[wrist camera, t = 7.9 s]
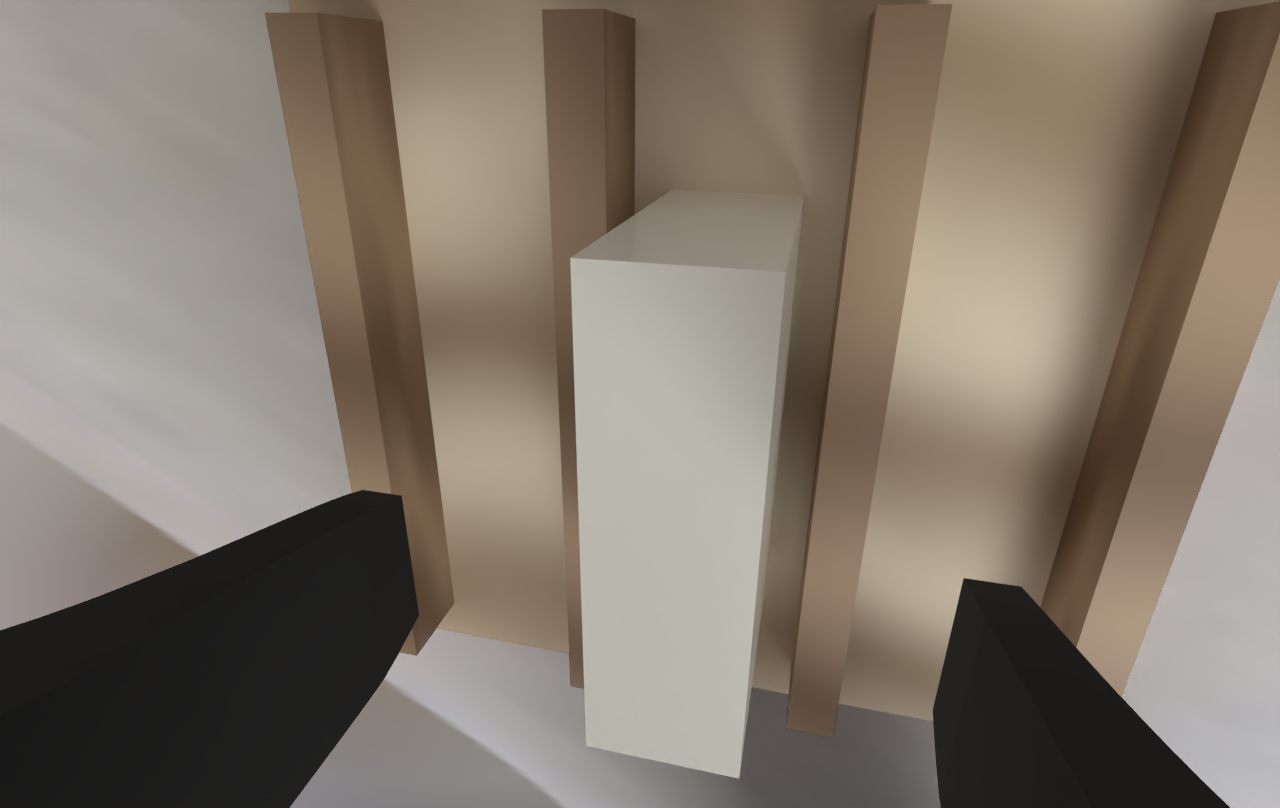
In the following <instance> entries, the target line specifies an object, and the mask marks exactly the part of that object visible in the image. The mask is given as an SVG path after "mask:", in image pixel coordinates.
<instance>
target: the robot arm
mask: <svg viewBox="0 0 1280 808" xmlns="http://www.w3.org/2000/svg"><path fill="white" fill-rule="evenodd" d="M418 616H419V610H418V603H417V597H416V590H415V583H414V576H413V569H412V563H411V556H410V549H409V542H408V535H407V528H406V522H405V515H404V508H403V501H402V496H401V495H395V494H388V493H381V492H374V491H367V490H360V491H357V492H354V493H351V494H348V495H345V496H342V497H339V498H337V499H334V500H331V501H329V502H326V503H324V504H321V505H319V506H316V507H314V508H311V509H309V510H306V511H304V512H302V513H299V514H297V515H295V516H292V517H290V518H287V519H285V520H283V521H280V522H278V523H276V524H273V525H271V526H269V527H266V528H264V529H262V530H259V531H257V532H255V533H252V534H250V535H248V536H245V537H243V538H241V539H238V540H236V541H234V542H231V543H229V544H227V545H224V546H222V547H220V548H217V549H215V550H213V551H210V552H208V553H206V554H203V555H201V556H199V557H196V558H194V559H192V560H189V561H187V562H184V563H182V564H179V565H177V566H174V567H172V568H169V569H167V570H164V571H161V572H159V573H156V574H154V575H152V576H149V577H147V578H144V579H141V580H139V581H137V582H134V583H132V584H129V585H126V586H124V587H121V588H119V589H116V590H114V591H111V592H109V593H106V594H104V595H101V596H99V597H96V598H93V599H90V600H88V601H85V602H82V603H80V604H77V605H74V606H71V607H68V608H66V609H63V610H60V611H57V612H54V613H51V614H49V615H46V616H43V617H40V618H37V619H34V620H31V621H28V622H25V623H22V624H19V625H16V626H13V627H10V628H7V629H4V630H1V631H0V808H290V806H291V805H292V803H293V802H294V801H295V799H296V798H297V797H298V795H299V794H300V793H301V791H302V790H303V789H304V787H305V786H306V785H307V783H308V782H309V781H310V779H311V778H312V776H313V775H314V774H315V773H316V771H317V770H318V768H319V767H320V766H321V764H322V763H323V762H324V761H325V759H326V758H327V756H328V755H329V754H330V752H331V751H332V750H333V748H334V747H335V746H336V744H337V743H338V742H339V740H340V739H341V738H342V736H343V735H344V734H345V732H346V731H347V730H348V728H349V727H350V725H351V724H352V723H353V721H354V720H355V719H356V717H357V716H358V715H359V713H360V712H361V710H362V709H363V708H364V706H365V705H366V704H367V702H368V701H369V699H370V698H371V697H372V695H373V694H374V692H375V691H376V690H377V688H378V687H379V685H380V684H381V683H382V681H383V680H384V678H385V676H386V674H387V673H388V671H389V669H390V668H391V666H392V664H393V662H394V661H395V659H396V657H397V655H398V654H399V652H400V650H401V648H402V646H403V645H404V643H405V641H406V639H407V637H408V635H409V633H410V631H411V629H412V628H413V626H414V624H415V622H416V620H417V618H418ZM933 723H934V738H935V752H936V765H937V777H938V788H939V798H940V803H941V808H1230V807H1229V806H1228V805H1227V804H1226V803H1225V802H1224V801H1223V800H1222V799H1220V798H1219V797H1218V796H1217V795H1216V794H1215V793H1214V792H1213V791H1212V790H1211V789H1210V788H1209V787H1208V786H1207V785H1206V784H1205V783H1204V782H1203V781H1202V780H1201V779H1200V778H1199V777H1198V776H1197V775H1196V774H1195V773H1194V772H1193V771H1192V770H1191V769H1190V768H1189V767H1188V766H1187V765H1186V764H1185V763H1184V762H1183V761H1182V760H1181V759H1180V758H1179V757H1178V756H1177V755H1176V754H1175V753H1174V752H1173V751H1172V750H1171V749H1170V748H1169V747H1168V746H1167V745H1166V744H1165V743H1164V742H1163V741H1162V740H1161V739H1160V737H1159V736H1158V735H1157V734H1156V733H1155V732H1154V731H1153V730H1152V729H1151V728H1150V727H1149V726H1148V725H1147V724H1146V723H1145V722H1144V721H1143V720H1142V719H1141V718H1140V717H1139V715H1138V714H1137V713H1136V712H1135V711H1134V710H1133V709H1132V708H1131V707H1130V706H1129V705H1128V704H1127V703H1126V702H1125V701H1124V700H1123V698H1122V697H1121V696H1120V695H1119V694H1118V693H1117V692H1116V691H1115V690H1114V689H1113V688H1112V686H1111V685H1110V684H1109V683H1108V682H1107V681H1106V680H1105V679H1104V678H1103V677H1102V676H1101V675H1100V673H1099V672H1098V671H1097V670H1096V669H1095V668H1094V667H1093V666H1092V665H1091V663H1090V662H1089V661H1088V660H1087V659H1086V658H1085V657H1084V656H1083V655H1082V653H1081V652H1080V651H1079V650H1078V649H1077V648H1076V647H1075V646H1074V645H1073V643H1072V642H1071V641H1070V640H1069V639H1068V638H1067V637H1066V636H1065V634H1064V633H1063V632H1062V631H1061V630H1060V629H1059V628H1058V627H1057V625H1056V624H1055V623H1054V622H1053V621H1052V620H1051V619H1050V618H1049V616H1048V615H1047V614H1046V613H1045V612H1044V611H1043V610H1042V609H1041V607H1040V606H1039V605H1038V604H1037V603H1036V602H1035V601H1034V600H1033V599H1032V598H1031V596H1030V595H1029V594H1028V593H1027V592H1026V591H1025V590H1024V589H1023V588H1022V587H1021V586H1014V585H1007V584H1001V583H994V582H987V581H980V580H973V579H967V578H964V579H963V583H962V587H961V591H960V596H959V600H958V604H957V608H956V613H955V617H954V621H953V625H952V630H951V634H950V638H949V642H948V647H947V651H946V655H945V660H944V664H943V668H942V672H941V677H940V681H939V685H938V689H937V694H936V698H935V702H934V706H933Z"/></svg>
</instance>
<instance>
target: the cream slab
mask: <svg viewBox="0 0 1280 808" xmlns="http://www.w3.org/2000/svg"><path fill="white" fill-rule="evenodd" d="M804 200H805V195H784V194H759V193H735V192H711V191H687V190H671V191H669V192H668V193H666V194H665V195H663V196H662V197H660V198H659V199H657V200H656V201H654V202H653V203H651V204H650V205H648V206H647V207H645V208H644V209H642V210H641V211H639V212H638V213H636V214H635V215H634V216H632V217H631V218H629V219H628V220H626V221H625V222H623V223H622V224H620V225H619V226H617V227H616V228H614V229H613V230H611V231H610V232H608V233H607V234H605V235H604V236H602V237H601V238H599V239H598V240H596V241H595V242H593V243H592V244H590V245H589V246H587V247H586V248H584V249H583V250H581V251H580V252H578V253H577V254H575V255H574V256H572V257H571V258H570V266H571V297H572V328H573V359H574V390H575V421H576V451H577V482H578V513H579V544H580V575H581V606H582V637H583V668H584V699H585V730H586V746H590V747H594V748H599V749H603V750H608V751H613V752H617V753H622V754H627V755H631V756H636V757H641V758H645V759H650V760H655V761H659V762H664V763H668V764H673V765H678V766H682V767H687V768H692V769H696V770H701V771H706V772H710V773H715V774H720V775H724V776H729V777H733V778H738V779H739V777H740V770H741V762H742V755H743V748H744V740H745V733H746V725H747V718H748V711H749V703H750V696H751V688H752V681H753V673H754V666H755V659H756V651H757V644H758V636H759V629H760V622H761V614H762V607H763V599H764V592H765V584H766V577H767V570H768V562H769V555H770V545H771V535H772V524H773V514H774V504H775V494H776V484H777V474H778V464H779V453H780V443H781V433H782V423H783V413H784V403H785V392H786V382H787V372H788V362H789V352H790V342H791V332H792V321H793V311H794V301H795V291H796V281H797V271H798V260H799V250H800V240H801V230H802V220H803V210H804Z"/></svg>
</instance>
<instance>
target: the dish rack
mask: <svg viewBox="0 0 1280 808" xmlns="http://www.w3.org/2000/svg"><path fill="white" fill-rule="evenodd" d="M289 6H290V11H291V13H265V15H266V21H267V26H268V32H269V37H270V43H271V48H272V54H273V59H274V65H275V70H276V76H277V81H278V87H279V92H280V98H281V103H282V109H283V114H284V120H285V125H286V131H287V136H288V142H289V147H290V153H291V158H292V164H293V169H294V175H295V180H296V186H297V191H298V197H299V203H300V208H301V214H302V219H303V225H304V230H305V236H306V241H307V247H308V252H309V258H310V263H311V269H312V274H313V280H314V285H315V291H316V296H317V302H318V307H319V313H320V318H321V324H322V329H323V335H324V340H325V346H326V351H327V357H328V362H329V368H330V373H331V379H332V384H333V390H334V395H335V401H336V406H337V412H338V417H339V423H340V428H341V434H342V439H343V445H344V450H345V456H346V461H347V467H348V472H349V478H350V483H351V489H352V493H354V492H357V491H360V490H367V491H374V492H381V493H388V494H395V495H401V496H402V501H403V508H404V515H405V522H406V528H407V535H408V542H409V549H410V556H411V563H412V569H413V576H414V583H415V590H416V597H417V603H418V610H419V616H418V618H417V620H416V622H415V624H414V626H413V628H412V629H411V631H410V633H409V635H408V637H407V639H406V641H405V643H404V645H403V646H402V648H401V650H400V652H401V653H406V654H411V655H416V656H417V654H418V653H419V652H420V650H421V649H422V648H423V646H424V645H425V643H426V642H427V641H428V639H429V638H430V637H431V635H432V634H433V632H434V631H435V630H436V628H437V629H443V630H448V631H453V632H459V633H464V634H469V635H475V636H480V637H485V638H491V639H496V640H501V641H507V642H512V643H517V644H523V645H528V646H533V647H539V648H544V649H549V650H555V651H560V652H565V653H569V660H570V684H571V686H573V687H578V688H583V689H584V668H583V637H582V606H581V575H580V544H579V513H578V482H577V451H576V421H575V390H574V359H573V328H572V297H571V266H570V258H571V257H572V256H574V255H575V254H577V253H578V252H580V251H581V250H583V249H584V248H586V247H587V246H589V245H590V244H592V243H593V242H595V241H596V240H598V239H599V238H601V237H602V236H604V235H605V234H607V233H608V232H610V231H611V230H613V229H614V228H616V227H617V226H619V225H620V224H622V223H623V222H625V221H626V220H628V219H629V218H631V217H632V216H634V215H635V214H636V213H638V212H639V211H641V210H642V209H644V208H645V207H647V206H648V205H650V204H651V203H653V202H654V201H656V200H657V199H659V198H660V197H662V196H663V195H665V194H666V193H668V192H669V191H671V190H687V191H711V192H735V193H759V194H784V195H805V200H804V210H803V220H802V230H801V240H800V250H799V260H798V271H797V281H796V291H795V301H794V311H793V321H792V332H791V342H790V352H789V362H788V372H787V382H786V392H785V403H784V413H783V423H782V433H781V443H780V453H779V464H778V474H777V484H776V494H775V504H774V514H773V524H772V535H771V545H770V555H769V562H768V570H767V577H766V584H765V592H764V599H763V607H762V614H761V622H760V629H759V636H758V644H757V651H756V659H755V666H754V673H753V681H752V688H757V689H763V690H768V691H773V692H779V693H784V694H789V699H788V712H787V726H786V729H790V730H795V731H800V732H806V733H811V734H816V735H821V736H826V737H831V738H833V735H834V729H835V723H836V716H837V710H838V704H842V705H848V706H853V707H858V708H864V709H869V710H874V711H880V712H885V713H890V714H896V715H901V716H906V717H912V718H917V719H922V720H928V721H933V706H934V702H935V698H936V694H937V689H938V685H939V681H940V677H941V672H942V668H943V664H944V660H945V655H946V651H947V647H948V642H949V638H950V634H951V630H952V625H953V621H954V617H955V613H956V608H957V604H958V600H959V596H960V591H961V587H962V583H963V579H964V578H967V579H973V580H980V581H987V582H994V583H1001V584H1007V585H1014V586H1021V587H1022V588H1023V589H1024V590H1025V591H1026V592H1027V593H1028V594H1029V595H1030V596H1031V598H1032V599H1033V600H1034V601H1035V602H1036V603H1037V604H1038V605H1039V606H1040V607H1041V609H1042V610H1043V611H1044V612H1045V613H1046V614H1047V615H1048V616H1049V618H1050V619H1051V620H1052V621H1053V622H1054V623H1055V624H1056V625H1057V627H1058V628H1059V629H1060V630H1061V631H1062V632H1063V633H1064V634H1065V636H1066V637H1067V638H1068V639H1069V640H1070V641H1071V642H1072V643H1073V645H1074V646H1075V647H1076V648H1077V649H1078V650H1079V651H1080V652H1081V653H1082V655H1083V656H1084V657H1085V658H1086V659H1087V660H1088V661H1089V662H1090V663H1091V665H1092V666H1093V667H1094V668H1095V669H1096V670H1097V671H1098V672H1099V673H1100V675H1101V676H1102V677H1103V678H1104V679H1105V680H1106V681H1107V682H1108V683H1109V684H1110V685H1111V686H1112V688H1113V689H1114V690H1115V691H1116V692H1117V693H1118V694H1119V695H1120V696H1121V697H1122V694H1123V691H1124V689H1125V686H1126V684H1127V681H1128V678H1129V676H1130V673H1131V670H1132V668H1133V665H1134V662H1135V660H1136V657H1137V654H1138V652H1139V649H1140V647H1141V644H1142V641H1143V639H1144V636H1145V633H1146V631H1147V628H1148V625H1149V623H1150V620H1151V617H1152V615H1153V612H1154V610H1155V607H1156V604H1157V602H1158V599H1159V596H1160V594H1161V591H1162V588H1163V586H1164V583H1165V580H1166V578H1167V575H1168V572H1169V570H1170V567H1171V565H1172V562H1173V559H1174V557H1175V554H1176V551H1177V549H1178V546H1179V543H1180V541H1181V538H1182V535H1183V533H1184V530H1185V528H1186V525H1187V522H1188V520H1189V517H1190V514H1191V512H1192V509H1193V506H1194V504H1195V501H1196V498H1197V496H1198V493H1199V491H1200V488H1201V485H1202V483H1203V480H1204V477H1205V475H1206V472H1207V469H1208V467H1209V464H1210V461H1211V459H1212V456H1213V454H1214V451H1215V448H1216V446H1217V443H1218V440H1219V438H1220V435H1221V432H1222V430H1223V427H1224V424H1225V422H1226V419H1227V417H1228V414H1229V411H1230V409H1231V406H1232V403H1233V401H1234V398H1235V395H1236V393H1237V390H1238V387H1239V385H1240V382H1241V379H1242V377H1243V374H1244V372H1245V369H1246V366H1247V364H1248V361H1249V358H1250V356H1251V353H1252V350H1253V348H1254V345H1255V342H1256V340H1257V337H1258V335H1259V332H1260V329H1261V327H1262V324H1263V321H1264V319H1265V316H1266V313H1267V311H1268V308H1269V305H1270V303H1271V300H1272V298H1273V295H1274V292H1275V290H1276V287H1277V284H1278V282H1279V279H1280V0H289Z"/></svg>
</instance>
